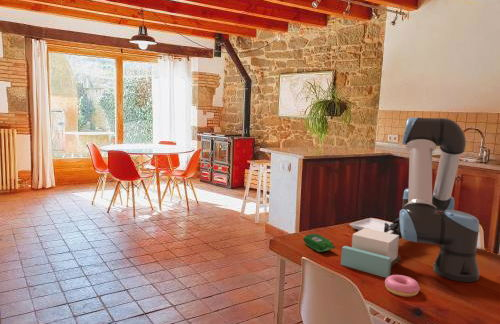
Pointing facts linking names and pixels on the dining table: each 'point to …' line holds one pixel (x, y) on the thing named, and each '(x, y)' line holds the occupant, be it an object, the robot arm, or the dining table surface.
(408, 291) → the doughnut
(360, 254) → the block
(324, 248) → the snack package
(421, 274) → the dining table surface
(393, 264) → the roller bed
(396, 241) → the white box
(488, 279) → the dining table surface
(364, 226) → the salad plate
